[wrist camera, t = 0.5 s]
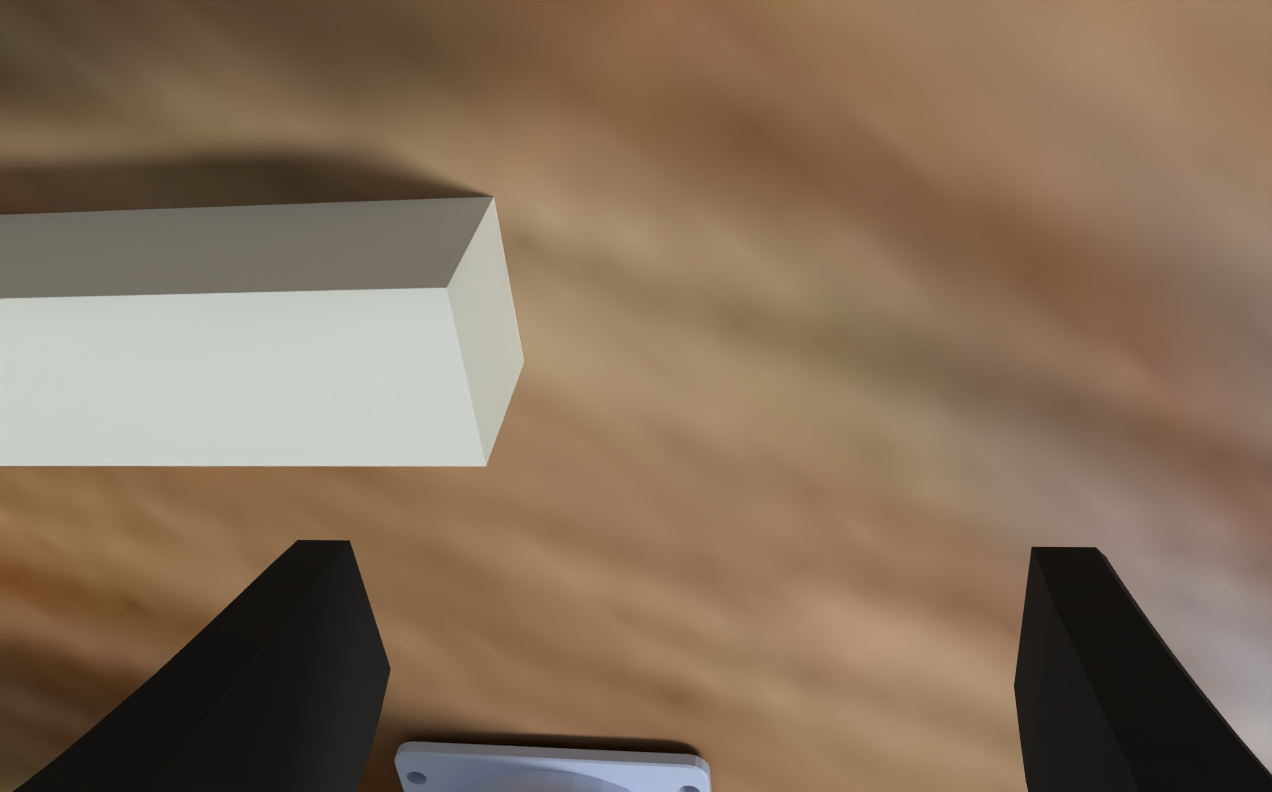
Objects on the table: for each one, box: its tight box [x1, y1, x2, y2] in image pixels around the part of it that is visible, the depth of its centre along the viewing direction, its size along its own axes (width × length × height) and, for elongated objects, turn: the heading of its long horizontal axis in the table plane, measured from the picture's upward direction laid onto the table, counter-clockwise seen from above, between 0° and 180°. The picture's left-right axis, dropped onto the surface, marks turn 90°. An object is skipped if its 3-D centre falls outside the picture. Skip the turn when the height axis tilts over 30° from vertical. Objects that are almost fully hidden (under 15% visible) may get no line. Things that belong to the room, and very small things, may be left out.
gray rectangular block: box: [0, 197, 524, 466], centre depth 21 cm, size 4×12×4 cm, turn 95°
